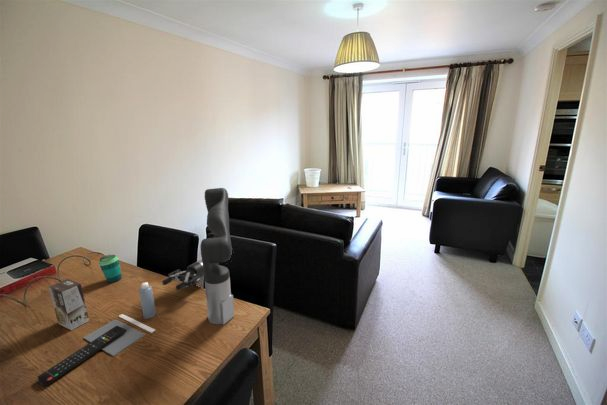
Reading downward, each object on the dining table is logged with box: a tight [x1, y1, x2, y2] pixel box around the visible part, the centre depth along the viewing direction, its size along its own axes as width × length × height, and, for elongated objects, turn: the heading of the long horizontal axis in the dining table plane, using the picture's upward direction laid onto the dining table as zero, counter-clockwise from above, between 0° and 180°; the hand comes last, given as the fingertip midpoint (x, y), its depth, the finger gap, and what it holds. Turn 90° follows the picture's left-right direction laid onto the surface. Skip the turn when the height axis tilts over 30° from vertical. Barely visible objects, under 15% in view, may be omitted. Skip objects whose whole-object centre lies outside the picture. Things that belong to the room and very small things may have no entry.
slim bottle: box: [138, 281, 157, 320], centre depth 110 cm, size 4×4×14 cm
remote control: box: [37, 326, 126, 387], centre depth 91 cm, size 5×24×1 cm, turn 156°
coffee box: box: [48, 278, 90, 331], centre depth 105 cm, size 9×6×16 cm
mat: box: [83, 318, 146, 357], centre depth 100 cm, size 18×11×1 cm, turn 63°
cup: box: [98, 254, 123, 284], centre depth 135 cm, size 8×8×12 cm
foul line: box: [118, 313, 156, 334], centre depth 107 cm, size 20×2×1 cm, turn 63°
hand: (169, 285), depth 118 cm, fingers open, 8 cm apart
